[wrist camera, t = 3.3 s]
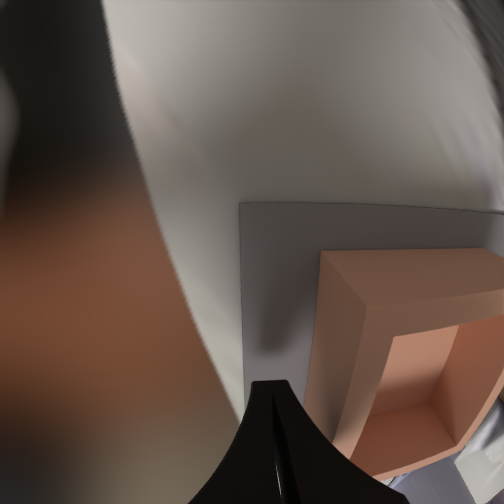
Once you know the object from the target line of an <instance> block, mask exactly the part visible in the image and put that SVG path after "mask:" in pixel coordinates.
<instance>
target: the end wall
mask: <svg viewBox="0 0 504 504" xmlns="http://www.w3.org/2000/svg"><path fill="white" fill-rule="evenodd" d="M498 396H499V397H500V398H501V399H502V400H503V402H504V386H503V387H502V389H501V391H500V393H499V395H498Z"/></svg>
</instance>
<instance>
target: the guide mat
mask: <svg viewBox="0 0 504 504" xmlns="http://www.w3.org/2000/svg"><path fill="white" fill-rule="evenodd" d="M239 211H240V262H241V303H242V339H243V370H244V398H245V411H246V408H247V404H248V400H249V396H250V390H251V383H252V382H253V381H263V380H283V379H286V380H288V381H289V383H290V386H291V388H292V390H293V391H294V393H295V395H296V397H297V399H298V400H299V402H300V403H301V405H302V407H304V401H305V395H306V388H307V381H308V374H309V367H310V359H311V351H312V343H313V335H314V326H315V316H316V306H317V295H318V283H319V271H320V256H321V251H336V250H394V249H453V248H484V249H487V250H489V251H491V252H493V253H495V254H497V255H499V256H501V257H503V258H504V215H503V214H494V213H485V212H475V211H464V210H452V209H440V208H426V207H410V206H392V205H370V204H340V203H239Z"/></svg>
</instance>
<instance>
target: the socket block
mask: <svg viewBox="0 0 504 504" xmlns="http://www.w3.org/2000/svg"><path fill="white" fill-rule="evenodd" d="M503 386H504V258H503V257H501V256H499V255H497V254H495V253H493V252H491V251H489V250H487V249H484V248H453V249H394V250H336V251H321V256H320V271H319V283H318V295H317V306H316V316H315V326H314V335H313V343H312V351H311V359H310V367H309V374H308V381H307V388H306V395H305V401H304V407H303V408H304V410H305V411H306V412H307V414H308V415H309V417H310V418H311V419H312V421H313V422H314V423H315V425H316V426H317V427H318V428H319V430H320V431H321V432H322V433H323V434H324V436H325V437H326V438H327V439H328V440H329V441H330V442H331V443H332V444H333V445H334V446H335V447H336V448H337V449H338V450H339V451H340V452H341V453H342V454H343V455H344V456H345V457H347V458H348V459H349V460H350V461H351V462H353V463H354V464H355V465H356V466H358V467H359V468H360V469H362V470H363V471H364V472H366V473H367V474H369V475H370V476H372V477H373V478H375V479H376V480H378V481H382V480H386V479H389V478H392V477H395V476H398V475H401V474H404V473H407V472H410V471H413V470H416V469H418V468H421V467H424V466H426V465H429V464H431V463H434V462H436V461H438V460H441V459H443V458H445V457H447V456H450V455H452V454H454V453H456V452H458V451H460V450H462V448H463V447H464V446H465V445H466V443H467V442H468V440H469V439H470V438H471V436H472V435H473V434H474V432H475V431H476V429H477V428H478V426H479V425H480V423H481V422H482V421H483V419H484V417H485V416H486V414H487V413H488V411H489V410H490V408H491V406H492V405H493V403H494V401H495V400H496V398H497V396H498V395H499V393H500V391H501V389H502V387H503Z"/></svg>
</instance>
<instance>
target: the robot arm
mask: <svg viewBox="0 0 504 504" xmlns="http://www.w3.org/2000/svg"><path fill="white" fill-rule="evenodd" d="M464 448H465V446H464V447H463V448H462V450H460V451H458V452H456V453H454V454H452V455H450V456H447V457H445V458H443V459H441V460H438V461H436V462H434V463H431V464H429V465H426V466H424V467H421V468H418V469H416V470H413V471H410V472H407V473H404V474H401V475H398V476H396V478H395V479H394V480H393V481H392V483H391V484H390V485H389V486H386V485H385V484H383V483H381V482H380V481H378V480H376V479H375V478H373V477H372V476H370V475H369V474H367V473H366V472H364V471H363V470H362V469H360V468H359V467H358V466H356V465H355V464H354V463H353V462H351V461H350V460H349V459H348V458H347V457H345V456H344V455H343V454H342V453H341V452H340V451H339V450H338V449H337V448H336V447H335V446H334V445H333V444H332V443H331V442H330V441H329V440H328V439H327V438H326V437H325V436H324V434H323V433H322V432H321V431H320V430H319V428H318V427H317V426H316V425H315V423H314V422H313V421H312V419H311V418H310V417H309V415H308V414H307V412H306V411H305V410H304V408H303V407H302V405H301V403H300V402H299V400H298V399H297V397H296V395H295V393H294V391H293V390H292V388H291V386H290V383H289V381H288V380H286V379H283V380H263V381H253V382H252V383H251V390H250V396H249V400H248V404H247V408H246V411H245V413H244V416H243V419H242V422H241V424H240V427H239V429H238V431H237V433H236V436H235V438H234V440H233V442H232V444H231V446H230V448H229V449H228V451H227V453H226V455H225V456H224V458H223V460H222V461H221V463H220V464H219V466H218V467H217V469H216V470H215V472H214V473H213V475H212V476H211V477H210V479H209V480H208V481H207V482H206V484H205V485H204V486H203V487H202V488H201V490H200V491H199V492H198V493H197V495H196V496H195V497H194V498H193V499H192V500H191V501H190V502H189V503H188V504H476V503H475V501H474V499H473V497H472V495H471V493H470V491H469V489H468V487H467V485H466V484H465V482H464V480H463V478H462V476H461V475H460V472H459V471H458V469H457V467H456V465H455V464H454V461H455V459H456V458H457V457H458V456H459V454H460V453H461V452H462V451H463V449H464ZM275 462H276V463H275ZM276 467H277V470H276ZM277 472H278V476H277ZM278 477H279V482H280V489H281V495H280V489H279V483H278ZM486 504H504V489H503V490H501V491H500V492H499V493H498V494H497V495H495V496H494V497H493V498H492V499H491V500H490V501H489V502H487V503H486Z"/></svg>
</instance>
